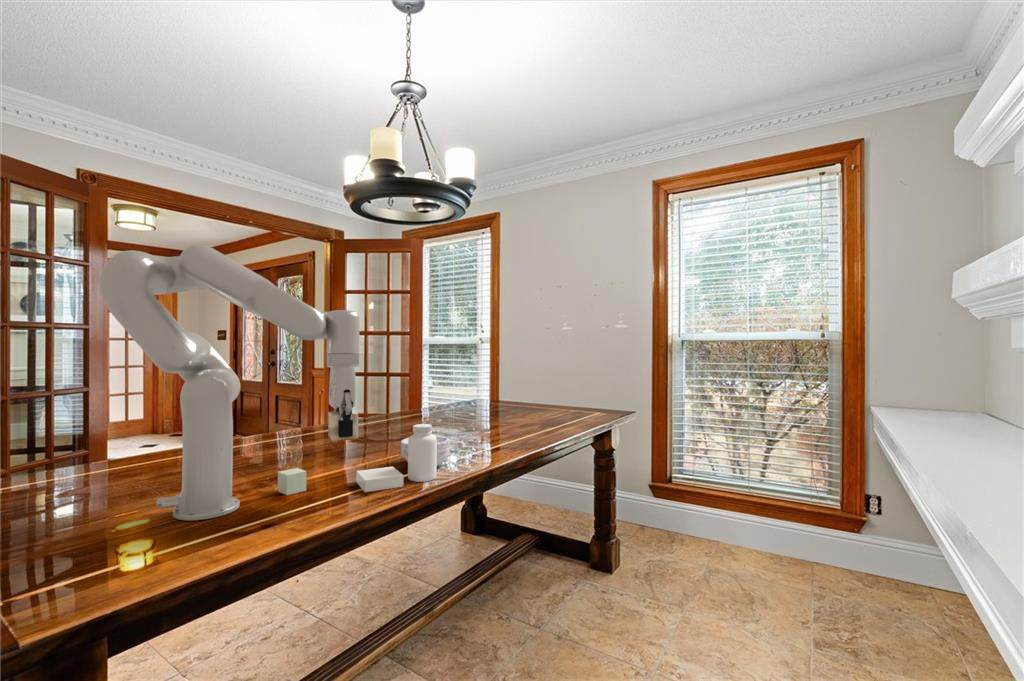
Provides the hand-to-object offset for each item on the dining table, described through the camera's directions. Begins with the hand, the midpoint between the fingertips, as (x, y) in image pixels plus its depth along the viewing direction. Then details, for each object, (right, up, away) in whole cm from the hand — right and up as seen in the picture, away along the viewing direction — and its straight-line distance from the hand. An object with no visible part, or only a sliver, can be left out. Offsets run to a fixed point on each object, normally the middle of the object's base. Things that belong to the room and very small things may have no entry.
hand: (343, 433), depth 116 cm
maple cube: (0, -1, 0) cm, 1 cm away
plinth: (+6, -16, +12) cm, 20 cm away
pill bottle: (+16, -16, +18) cm, 29 cm away
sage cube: (-15, -16, +5) cm, 22 cm away
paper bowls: (+14, -16, +33) cm, 39 cm away
